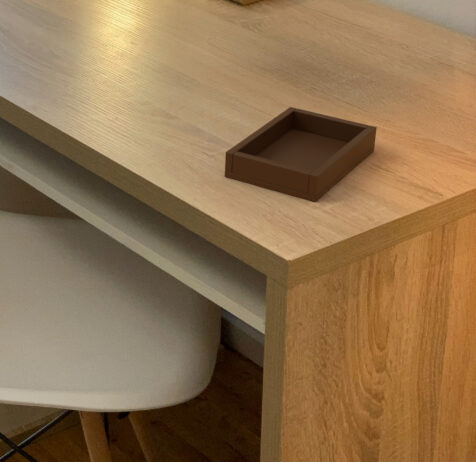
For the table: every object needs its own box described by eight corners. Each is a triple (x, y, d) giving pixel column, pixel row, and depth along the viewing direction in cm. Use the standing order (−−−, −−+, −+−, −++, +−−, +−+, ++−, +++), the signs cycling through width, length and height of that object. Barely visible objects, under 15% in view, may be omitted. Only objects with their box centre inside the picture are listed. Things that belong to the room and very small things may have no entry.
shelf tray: (374, 150, 108) (376, 126, 107) (315, 202, 98) (317, 176, 97) (288, 129, 113) (290, 106, 112) (224, 176, 103) (225, 151, 102)
